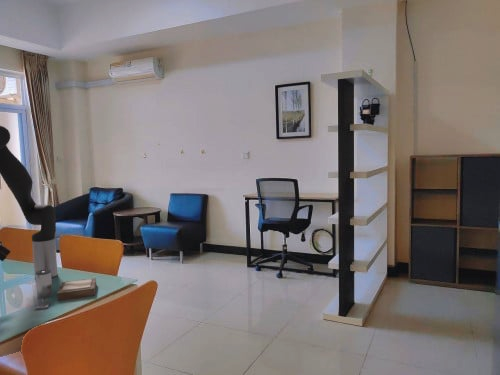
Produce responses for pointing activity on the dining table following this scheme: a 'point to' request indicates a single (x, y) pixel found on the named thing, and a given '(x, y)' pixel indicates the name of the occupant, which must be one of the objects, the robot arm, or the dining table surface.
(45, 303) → the bracket plate
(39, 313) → the dining table surface
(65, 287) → the stand
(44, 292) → the housing
